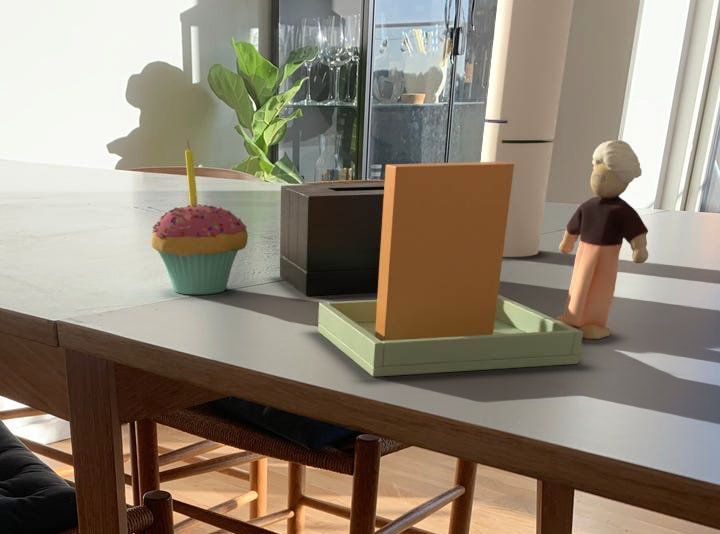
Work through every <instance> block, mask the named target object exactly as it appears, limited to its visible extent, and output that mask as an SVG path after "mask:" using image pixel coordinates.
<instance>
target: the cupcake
mask: <svg viewBox="0 0 720 534" xmlns="http://www.w3.org/2000/svg"><path fill="white" fill-rule="evenodd" d="M185 143H186V149H187V150H185V152H184V153H185V155H184V156H185V165H186V176H187V187H188V197H189V205H187V206H184V207H182V206H181V207H174V208H172V209H169V211H168V212H165V213H164V214H163V215H162V216H160V219H159V220H158V221H157V222H156V223H155V224H154V226H152V237H151V247H152V248H153V249H154V250H155V251H157V252H158V253H159V255H160V258H161V259H162V261H163V263H164V265H165V268H166V270H167V273H168V276H169V279H170V283H171V287H172V289H173V291H174V292H175V293H177V294H178V293H179V294H183V295H196V296H197V295H198V296H200V295H213V294H218V293H219V294H220V293H222V292H224V291H226V289H227V286H228V282H229V278H230V275H231V270H232V267H233V264H234V261H235V259H236V256H237V254H238V252H239V251H241V250H244V249H245V248H246V246H247V245H248V239H249V238H248V237H249V234H248V231H247V225H246V224H244V222H243V221H242V218H238V217H237V216H236V215H235V214H233V213H232V211H230V210H228V209H227V210H226V209H224V208H222V207H221V206H220V207H217V206H214V205H207V204H204V205H202V204H198V194H197V183H196V172H195V162H194V161H195V160H194V151H193V150H191V149H190V141H189V139H187V140H186V141H185Z"/></svg>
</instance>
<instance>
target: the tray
mask: <svg viewBox="0 0 720 534" xmlns="http://www.w3.org/2000/svg"><path fill="white" fill-rule="evenodd" d="M376 312H377V299H363V300H362V299H361V300H344V301H324V302H322V301H321V302H319V303H318V324H317V327H318V328H317V331H318V333H319V334H321V335H322V336H323V337H325V339H327V340H328V341H329V342H330V343H332V344H333V345H334V346H335V347H337V349H339V350H340V351H342V353H344V354H345V355H346V356H347V357H349V358H350V359H351V360H352V361H353V362H354V363H356V364H357V365H358V366H360V368H362V369H363V370H364V371H365V372H367V373H368V374H369V375H370V376H372V377H373V378H375V377H376V378H377V377H392V376H393V377H394V376H408V375H425V374H441V373H453V372H457V373H458V372H470V371H485V370H487V371H488V370H501V369H502V370H503V369H519V368H533V367H536V368H537V367H549V366H565V365H566V366H567V365H578V364H579V360H580V354H581V349H582V342H583V338H582V337H583V331H581V330H578V329H576V328H574V327H571V326H569V325H567V324H565V323H562V322H560V321H558V320H555V319H556V318H553V317H551V316H548V315H546V314H544V313H542V312H540V311H538V310H534V309H533V308H530V307H528V306H526V305H524V304H521V303H519V302H517V301H514V300H512V299H509V298H508V297H505V296H503V295H500V294H498V298H497V306H496V314H495V322H494V330H493V335H478V336H460V337H443V338H425V339H407V340H390V341H380V340H379V339H377V338H376V337H375V328H376Z"/></svg>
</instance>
